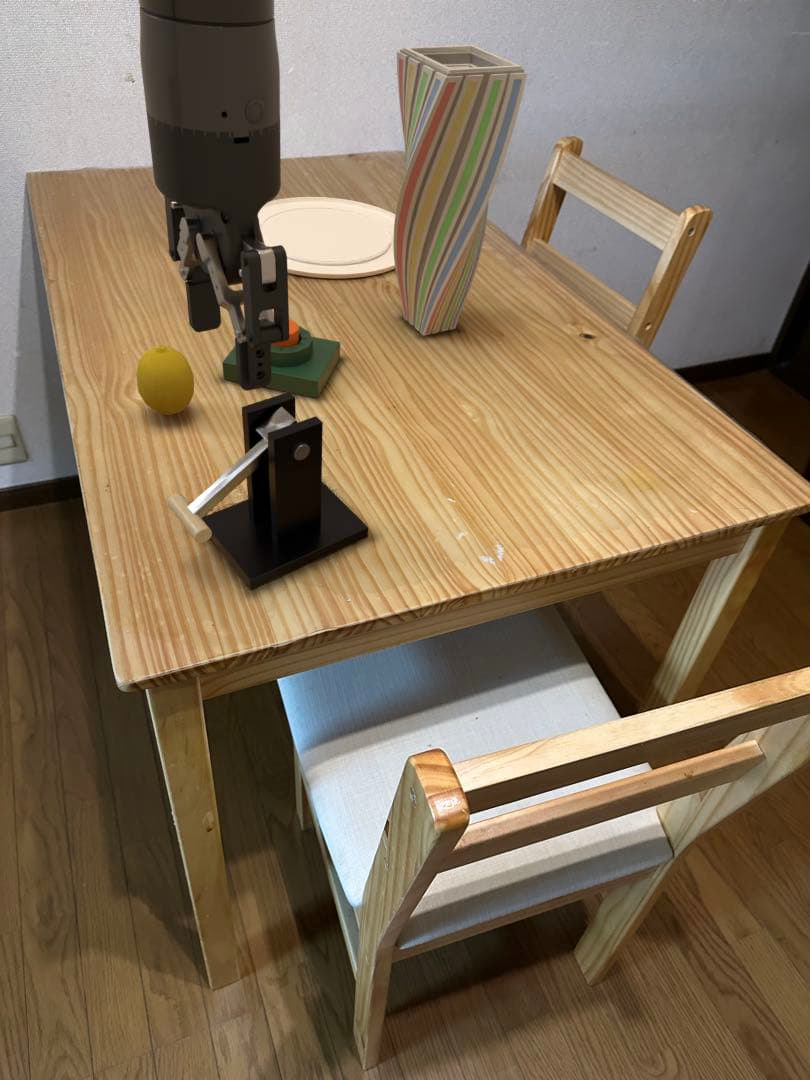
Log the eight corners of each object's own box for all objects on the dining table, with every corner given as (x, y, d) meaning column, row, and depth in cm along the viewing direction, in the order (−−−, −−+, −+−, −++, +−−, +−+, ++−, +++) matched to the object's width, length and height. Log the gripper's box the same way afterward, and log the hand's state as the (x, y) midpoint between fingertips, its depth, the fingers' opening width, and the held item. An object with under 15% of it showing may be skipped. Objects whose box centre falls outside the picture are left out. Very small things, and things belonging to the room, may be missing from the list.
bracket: (250, 590, 64) (242, 470, 55) (200, 527, 68) (184, 408, 60) (368, 537, 69) (377, 420, 61) (314, 482, 74) (315, 367, 65)
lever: (205, 549, 60) (188, 535, 58) (176, 513, 63) (159, 499, 61) (318, 445, 61) (305, 429, 59) (285, 414, 64) (272, 397, 62)
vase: (444, 291, 106) (477, 39, 85) (501, 337, 98) (553, 71, 78) (358, 309, 100) (372, 42, 80) (412, 359, 92) (443, 77, 72)
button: (262, 345, 85) (261, 331, 84) (273, 330, 87) (272, 316, 86) (293, 351, 84) (293, 337, 83) (303, 336, 87) (303, 322, 86)
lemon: (191, 431, 78) (183, 363, 73) (136, 427, 78) (124, 358, 72) (202, 401, 82) (195, 334, 77) (150, 397, 82) (139, 329, 76)
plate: (262, 289, 102) (262, 284, 101) (210, 208, 119) (209, 203, 119) (449, 267, 111) (449, 263, 111) (375, 196, 129) (375, 191, 129)
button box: (223, 379, 86) (220, 347, 83) (252, 341, 92) (250, 310, 89) (317, 398, 85) (318, 366, 82) (340, 358, 91) (341, 327, 88)
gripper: (107, 74, 46) (143, 320, 57) (199, 151, 38) (219, 421, 49) (224, 70, 50) (236, 303, 61) (331, 140, 41) (322, 395, 53)
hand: (229, 356), depth 55 cm, fingers open, 8 cm apart
